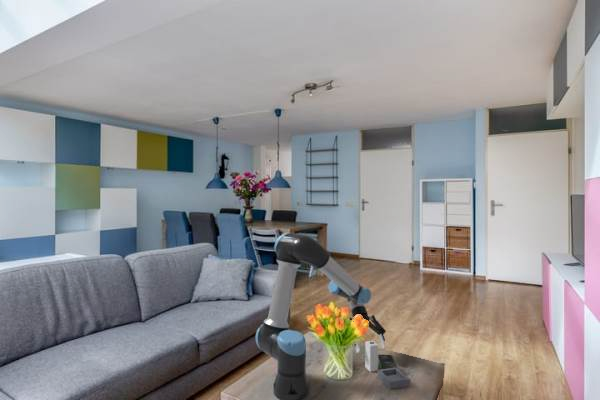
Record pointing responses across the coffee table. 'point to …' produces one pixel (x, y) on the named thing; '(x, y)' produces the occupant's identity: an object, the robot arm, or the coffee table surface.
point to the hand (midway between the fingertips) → (371, 350)
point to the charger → (371, 356)
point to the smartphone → (386, 361)
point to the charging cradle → (393, 378)
